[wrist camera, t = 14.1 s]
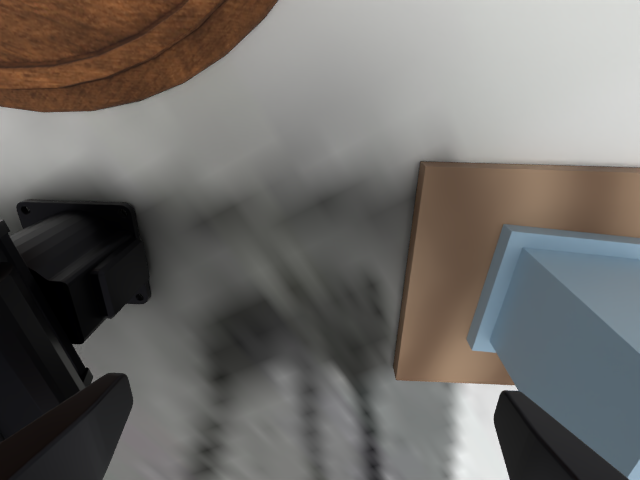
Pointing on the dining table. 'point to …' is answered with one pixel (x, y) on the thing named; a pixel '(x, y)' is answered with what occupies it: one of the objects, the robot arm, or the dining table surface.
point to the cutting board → (112, 48)
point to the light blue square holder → (569, 331)
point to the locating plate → (489, 249)
